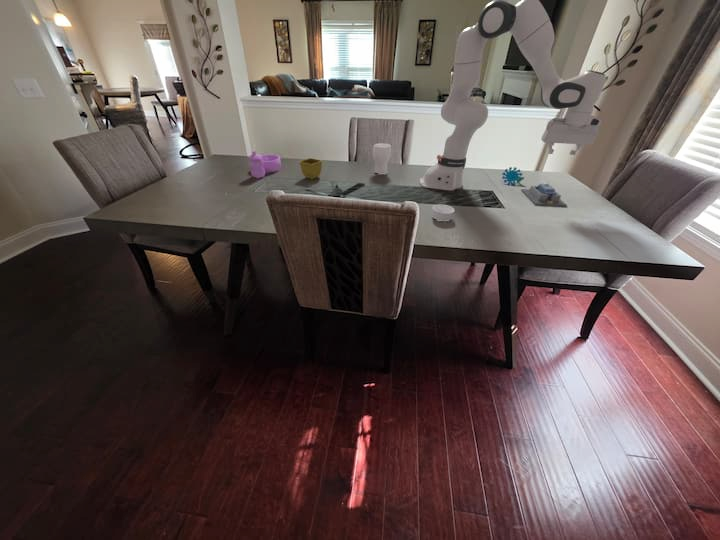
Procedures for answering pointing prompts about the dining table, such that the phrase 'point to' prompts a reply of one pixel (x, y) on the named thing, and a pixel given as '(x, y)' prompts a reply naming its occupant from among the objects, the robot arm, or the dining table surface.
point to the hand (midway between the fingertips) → (560, 154)
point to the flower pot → (311, 168)
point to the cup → (381, 157)
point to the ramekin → (442, 212)
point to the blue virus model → (512, 176)
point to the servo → (546, 189)
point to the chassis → (543, 197)
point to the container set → (264, 164)
